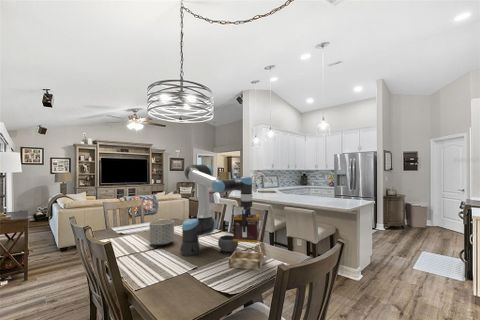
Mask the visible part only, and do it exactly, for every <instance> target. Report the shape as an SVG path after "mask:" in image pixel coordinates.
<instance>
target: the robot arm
mask: <svg viewBox="0 0 480 320" xmlns="http://www.w3.org/2000/svg"><path fill="white" fill-rule="evenodd" d="M183 173H184V177H185V178H186V179H187V180H189V181H191V182H195V184H196V185H197V198H198V215H197V218H188V219H186V220H185V221H183V222H182V227H181V228H182V229H181V230H182V235H181V236H182V238H181V239H182V241H181V242H182V243H181V245H180V249H179V254H180V255H181V256H185V257H186V256H188V257H189V256H190V257H192V256H196V255H199V254H200V253H202V248H201V244H200V242H199V238H200V236H201V237H202V236H204V235H209V234H212V233H214V231H215V230H216V228H217V222H216V219H215V218H214V217H213V215H212V214H211V207H210V205H211V204H210V202H211V201H210V189H212V190H213V192H215V193H222V192H224V193H225V192H231V191H232V192H233V191H237V192H238V191H239V192H240V207H241V208H243V209H242V210H241V212H242V213H241V214H242V224H241V227H242V237H247V227H246V224H247V220H246V217H248V215H250V214H251V215H252V213H251V212H252V211H251V209H252V208H251V207H253V201H252V200H253V197H254V196H253V178H252V176H241V177H240V179H237V178H236V179H235V178H230V179H222V178H219V177H216V176H214V175H213V174H214V172H213V168H212V167H211V166H210V165H208V164H190V165H188V166H186V168H185V169H184V172H183ZM243 224H244V225H243Z"/></svg>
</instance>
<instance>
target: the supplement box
mask: <svg viewBox="0 0 480 320" xmlns="http://www.w3.org/2000/svg"><path fill="white" fill-rule="evenodd" d="M246 220H247V224H246V227H247V237H242V227H241V224H242V213H237V214H236V215H234V216H233V236H234V238H233V241H236V242H238V243H240V242H241V243H255V244H257V243H258V241H259V239H260V214H252V213H251V214H250V215H248V217H246ZM243 225H244V224H243Z"/></svg>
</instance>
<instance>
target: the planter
mask: <svg viewBox="0 0 480 320" xmlns="http://www.w3.org/2000/svg"><path fill="white" fill-rule="evenodd" d="M148 239H149V243H150V244H152V245H155V246H157V247H162V246H163V247H164V246H167V245H169V244H170V243H172V242H173V241H174V240H175V220H173V219H168V218H167V219H165V218H164V219H155V220H152V221H149V238H148Z"/></svg>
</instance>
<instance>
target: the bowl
mask: <svg viewBox="0 0 480 320" xmlns="http://www.w3.org/2000/svg"><path fill="white" fill-rule="evenodd" d="M233 238H234V235H229V234H225V235H221V236H220V237H219V238H218V241H217V242H218V243H217V245H218V247H219V249H220V250H221V251H223V252H226V253H227V252H228V253H230V252H235V251H236V249H237V248H238V246H239V242H236V241H233Z"/></svg>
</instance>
